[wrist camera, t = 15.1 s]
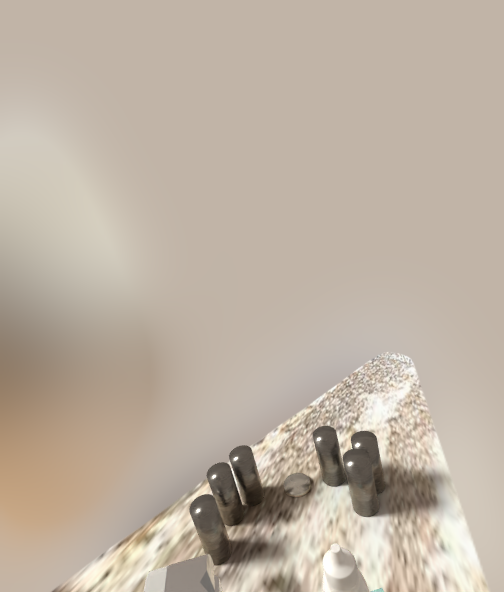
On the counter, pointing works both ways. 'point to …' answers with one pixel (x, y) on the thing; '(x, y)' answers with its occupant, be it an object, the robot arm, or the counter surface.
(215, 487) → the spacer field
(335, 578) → the eye dropper bottle
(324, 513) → the counter surface
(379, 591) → the pad
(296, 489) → the grey flat disc
